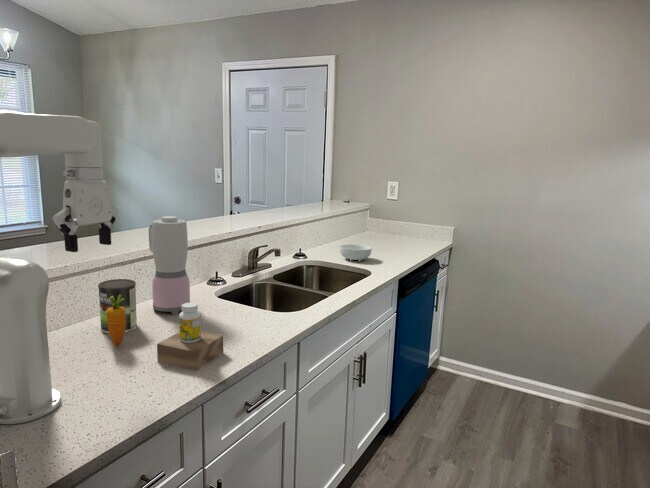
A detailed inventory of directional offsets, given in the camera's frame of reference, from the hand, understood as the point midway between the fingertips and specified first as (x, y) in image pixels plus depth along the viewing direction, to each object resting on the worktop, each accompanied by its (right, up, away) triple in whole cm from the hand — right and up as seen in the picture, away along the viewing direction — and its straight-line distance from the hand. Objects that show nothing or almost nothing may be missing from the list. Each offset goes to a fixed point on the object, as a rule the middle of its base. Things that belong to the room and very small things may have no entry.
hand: (89, 247), depth 108 cm
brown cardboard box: (+21, -29, +13) cm, 38 cm away
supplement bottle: (+21, -25, +12) cm, 34 cm away
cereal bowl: (+72, -8, +136) cm, 154 cm away
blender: (+2, -22, +50) cm, 54 cm away
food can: (-7, -25, +31) cm, 40 cm away
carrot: (-1, -28, +17) cm, 33 cm away
